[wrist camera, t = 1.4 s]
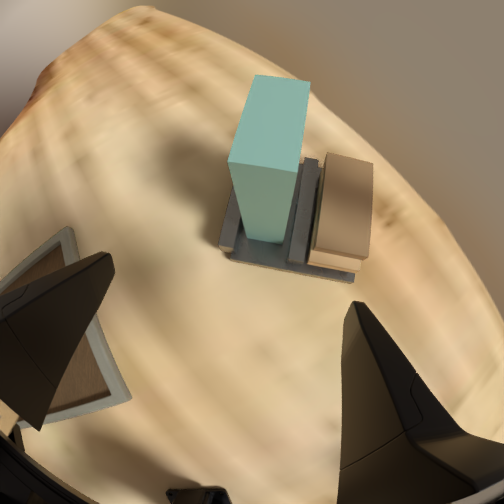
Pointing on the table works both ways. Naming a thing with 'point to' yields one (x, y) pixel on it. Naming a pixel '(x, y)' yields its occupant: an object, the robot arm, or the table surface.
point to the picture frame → (88, 351)
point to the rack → (295, 237)
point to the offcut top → (345, 207)
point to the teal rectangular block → (268, 154)
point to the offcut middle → (325, 258)
